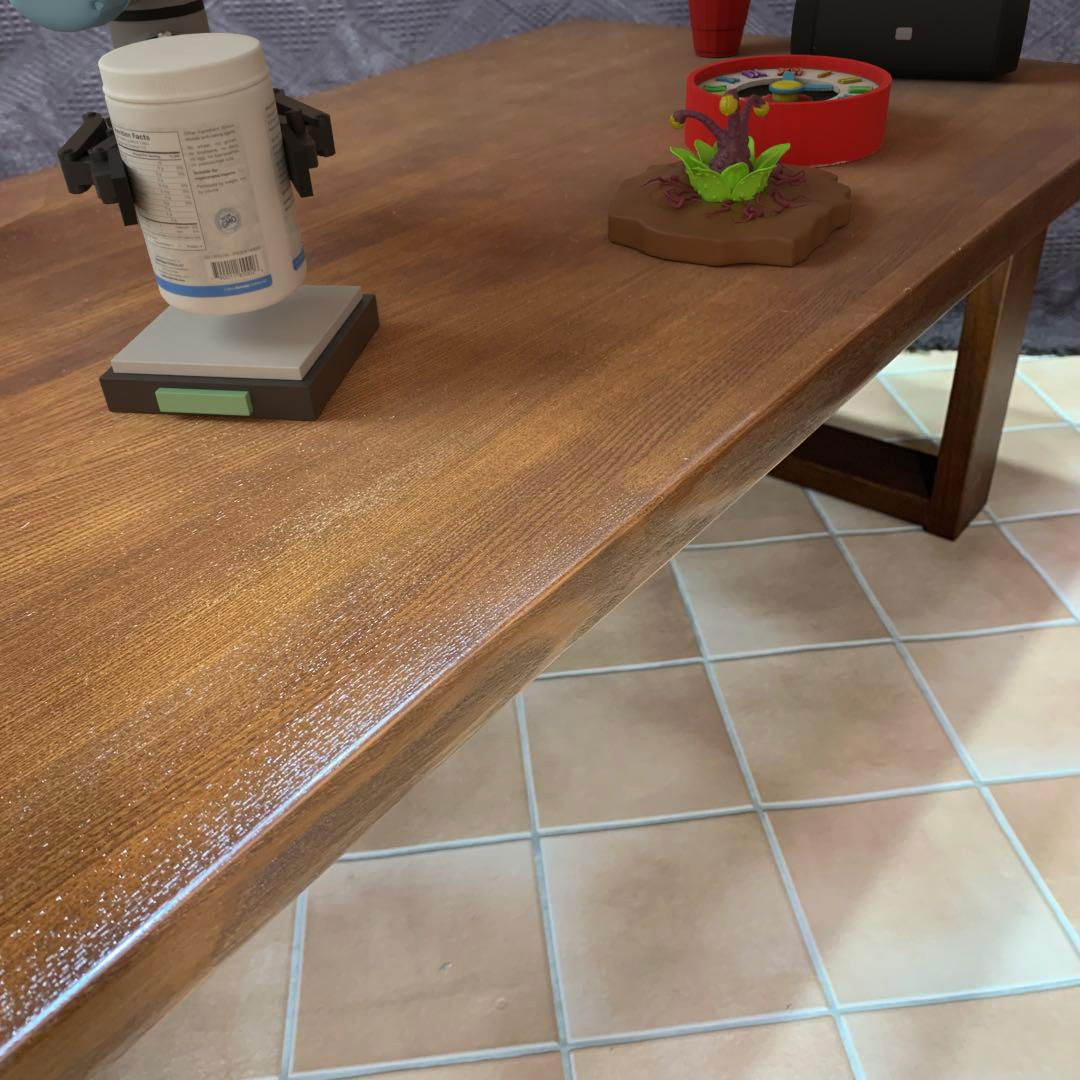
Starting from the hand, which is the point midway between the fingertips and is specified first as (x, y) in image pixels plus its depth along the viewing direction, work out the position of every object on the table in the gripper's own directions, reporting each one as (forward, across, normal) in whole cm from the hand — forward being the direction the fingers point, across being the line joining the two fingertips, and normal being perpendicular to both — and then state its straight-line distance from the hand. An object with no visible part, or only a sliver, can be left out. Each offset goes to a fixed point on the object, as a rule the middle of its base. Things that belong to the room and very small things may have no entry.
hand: (216, 187), depth 62 cm
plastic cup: (-71, +71, +14) cm, 101 cm away
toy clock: (-33, +58, +14) cm, 68 cm away
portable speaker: (-49, +83, +14) cm, 98 cm away
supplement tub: (-4, 0, +8) cm, 9 cm away
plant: (-14, +41, +14) cm, 46 cm away
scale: (-4, 0, +13) cm, 14 cm away
